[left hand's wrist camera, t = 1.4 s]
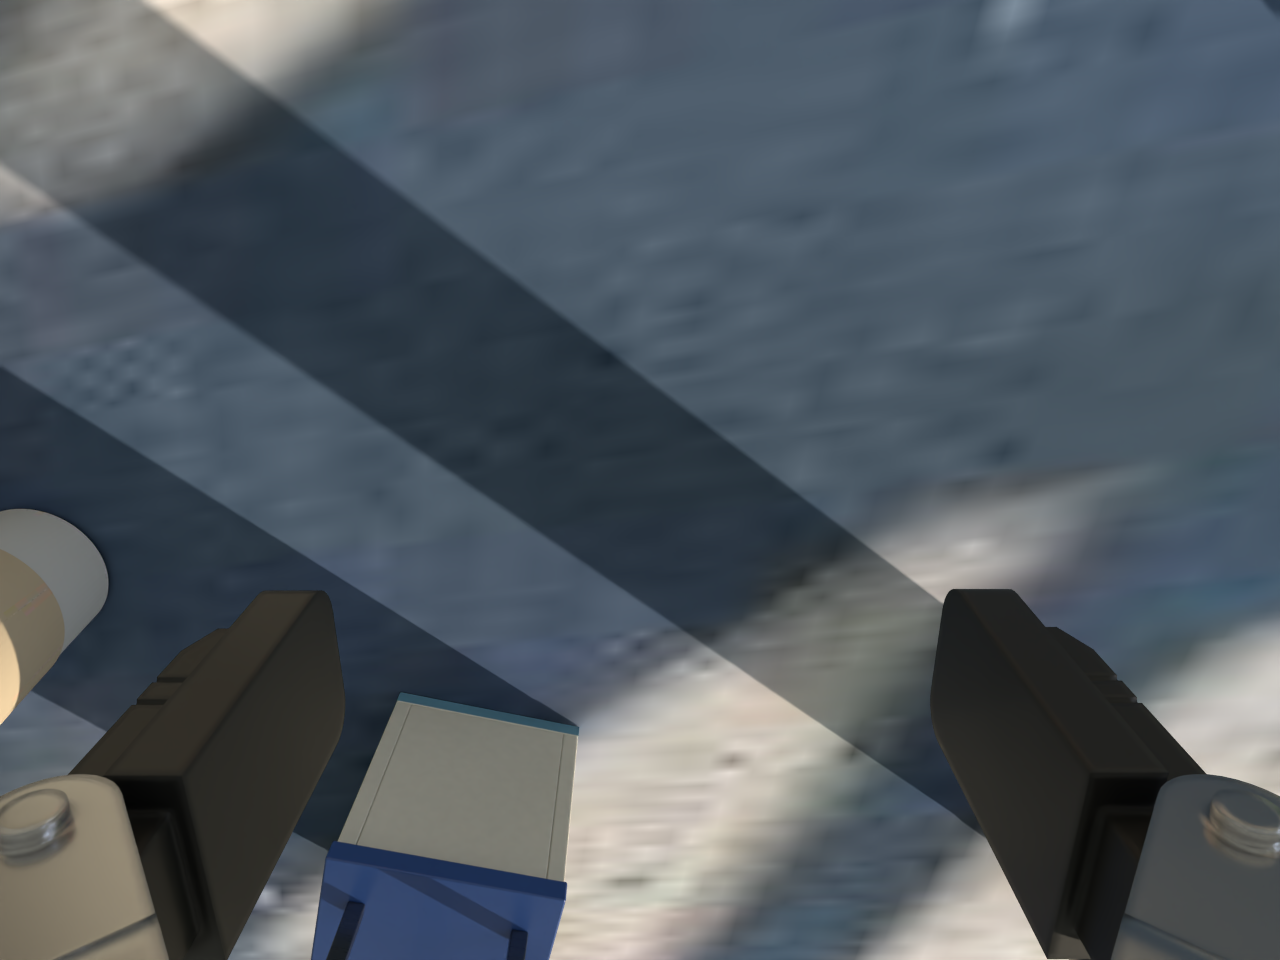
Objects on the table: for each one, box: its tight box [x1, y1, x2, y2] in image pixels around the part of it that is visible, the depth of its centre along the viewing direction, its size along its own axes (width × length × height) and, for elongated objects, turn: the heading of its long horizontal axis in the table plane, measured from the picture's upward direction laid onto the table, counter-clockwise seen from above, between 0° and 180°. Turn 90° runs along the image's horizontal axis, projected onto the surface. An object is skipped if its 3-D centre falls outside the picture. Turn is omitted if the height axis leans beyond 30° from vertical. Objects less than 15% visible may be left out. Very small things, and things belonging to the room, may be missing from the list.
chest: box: [338, 692, 579, 882], centre depth 42 cm, size 13×10×11 cm
